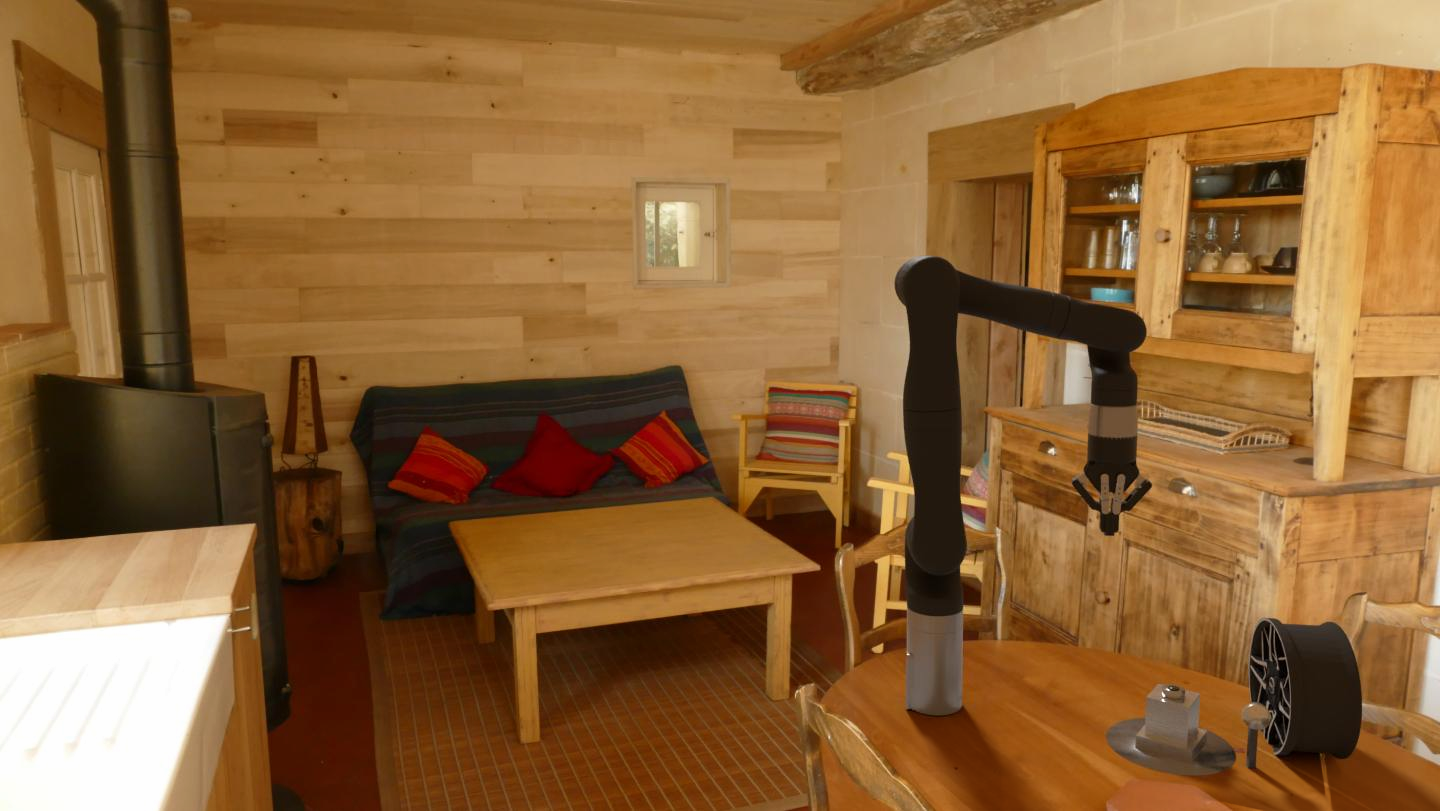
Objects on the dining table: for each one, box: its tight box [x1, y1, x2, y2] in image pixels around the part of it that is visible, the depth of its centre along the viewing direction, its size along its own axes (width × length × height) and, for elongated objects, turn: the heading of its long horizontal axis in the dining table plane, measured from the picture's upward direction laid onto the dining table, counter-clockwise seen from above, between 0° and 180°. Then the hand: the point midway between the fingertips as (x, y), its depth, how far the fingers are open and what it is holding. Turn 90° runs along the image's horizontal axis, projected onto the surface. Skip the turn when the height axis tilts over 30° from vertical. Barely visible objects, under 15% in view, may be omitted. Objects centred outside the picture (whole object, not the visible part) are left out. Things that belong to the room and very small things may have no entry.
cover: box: [1135, 683, 1208, 764], centre depth 154 cm, size 8×8×9 cm
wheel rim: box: [1248, 617, 1363, 760], centre depth 153 cm, size 20×9×20 cm, turn 168°
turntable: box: [1105, 717, 1246, 776], centre depth 154 cm, size 19×18×1 cm
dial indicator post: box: [1241, 701, 1272, 770], centre depth 147 cm, size 4×3×11 cm
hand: (1108, 534), depth 168 cm, fingers closed
